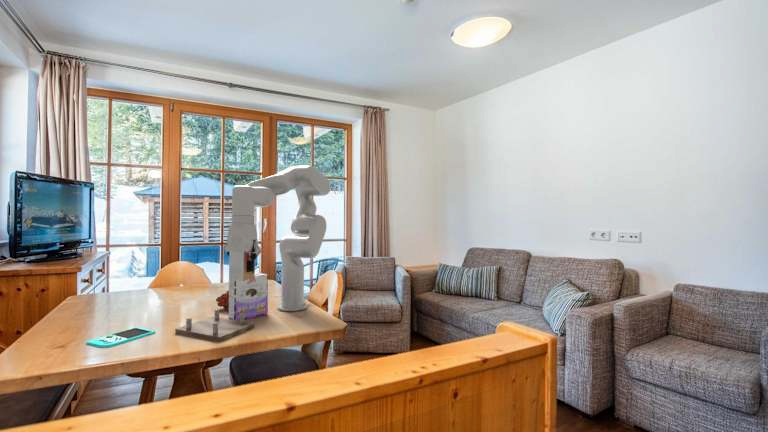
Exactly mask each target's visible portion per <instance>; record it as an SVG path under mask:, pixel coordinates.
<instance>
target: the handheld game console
mask: <svg viewBox="0 0 768 432" xmlns="http://www.w3.org/2000/svg"><path fill="white" fill-rule="evenodd" d="M154 334H156V330H152V329H148V328H142V327H137V326H136V327H134V328H130V329H129V328H128V329H126V330H122V331H119V332H115V333H112V334H108V335H104V336H101V337H98V338H93V339H91V340H87V341H86V345H90V346H94V347H98V348H111V347H115V346H118V345H121V344H125V343H128V342H131V341H135V340H138V339H141V338H145V337H147V336H151V335H154Z"/></svg>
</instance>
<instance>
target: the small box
mask: <svg viewBox="0 0 768 432" xmlns="http://www.w3.org/2000/svg"><path fill="white" fill-rule="evenodd" d="M249 252H250V251H249ZM254 253H255V252H254ZM250 255H251V254H250ZM228 260H229V262H228V282H229V281H245V280H249V279H253V278H255V274H256V271H255V268H256V260H254V271H252V272H247V261H248V258H247V253H245V251H229V256H228Z"/></svg>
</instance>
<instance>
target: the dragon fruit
mask: <svg viewBox="0 0 768 432" xmlns="http://www.w3.org/2000/svg"><path fill="white" fill-rule="evenodd" d="M215 302H216V306H218V307H220V308H224V309H223V310H225V311H229V290H226V292H225V293H222V294H221V295H220V296H217V298H216V299H215Z"/></svg>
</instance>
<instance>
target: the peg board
mask: <svg viewBox="0 0 768 432" xmlns="http://www.w3.org/2000/svg"><path fill="white" fill-rule="evenodd" d="M244 316H245V314H244V313H241V314H240V320H238V321H237V320H231V319H230V318H223V317H220V309H218V308H217V309H214V316H211V317H207V318H205V319H201V320H198V321H195V322H192V321H193V319H192V317H188V318H186V321H185V323H186V324H185V325H183V326H180V327H177V328H175V332H174V333H175V334H177V335H183V336H188V337H193V338H197V339H203V340H208V341H212V342H218V343H219V342H220V343H221V342H222V341H225V340H228V339H230V338H232V337H235V336H237V335H239V334H243V333H246V332H247V331H250V330H252V329H255V327H256V326H255V325H256V324H255V323H254V322H248V321H245V319H244Z"/></svg>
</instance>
